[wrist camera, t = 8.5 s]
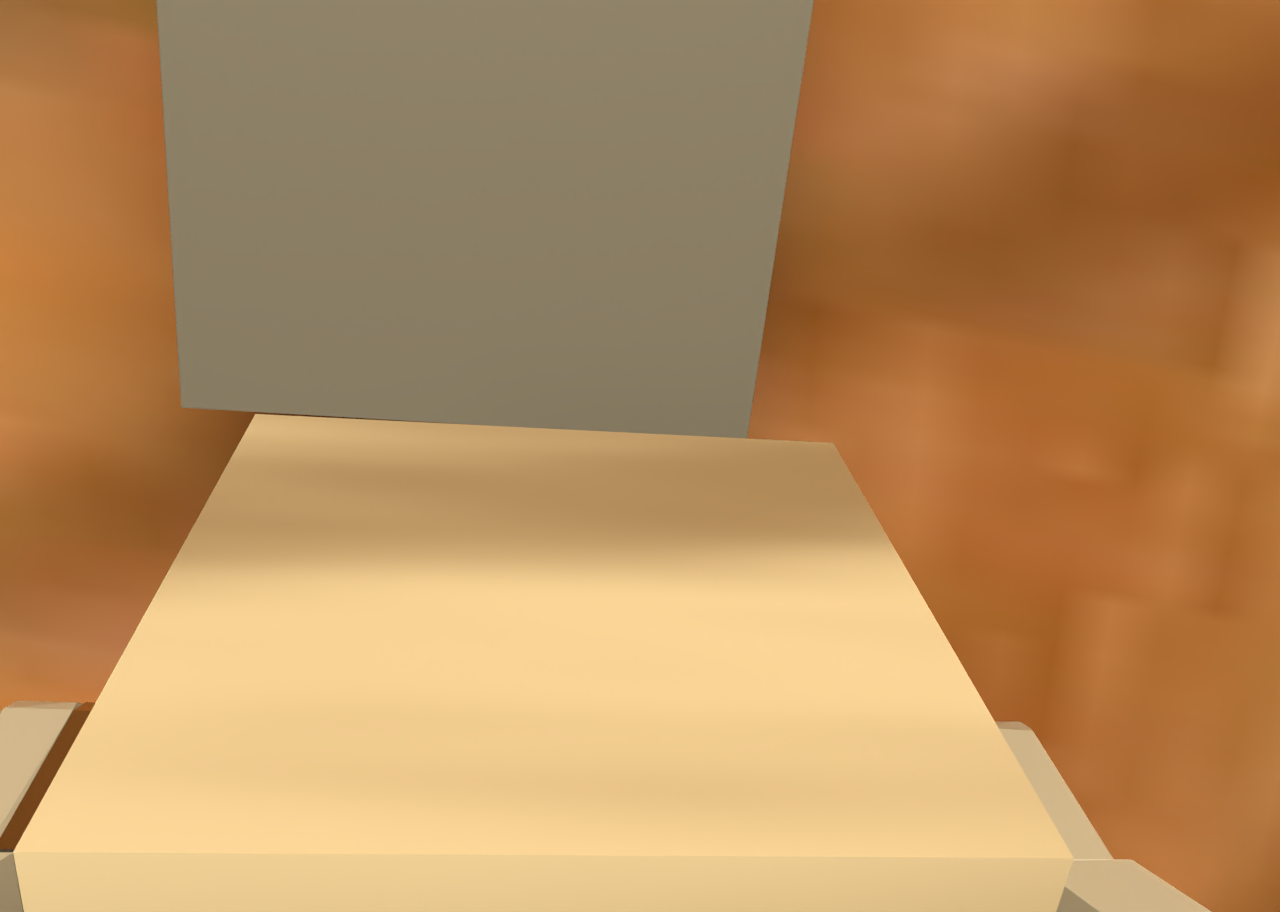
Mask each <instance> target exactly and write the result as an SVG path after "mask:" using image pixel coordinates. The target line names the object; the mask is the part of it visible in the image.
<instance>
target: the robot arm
mask: <svg viewBox="0 0 1280 912" xmlns="http://www.w3.org/2000/svg"><path fill="white" fill-rule="evenodd" d="M94 705H95V703H92V702H86V703H84V704H81V703H77V702H48V701H16V702H14V703H12V704H10V705H9V706H7V707H5V708H4V709H2V710H1V711H0V912H24V910H23V904H22V899H21V893H20V888H19V882H18V877H17V871H16V865H15V860H14V854H13V851H14V850H15V848H16V846H17V844H18V842H19V841H20V839H21V837H22V835H23V833H24V831H25V830H26V828H27V826H28V824H29V822H30V821H31V819H32V817H33V815H34V813H35V812H36V810H37V808H38V806H39V804H40V803H41V801H42V799H43V797H44V795H45V794H46V792H47V790H48V788H49V786H50V784H51V783H52V781H53V779H54V777H55V775H56V774H57V772H58V770H59V768H60V766H61V765H62V763H63V761H64V759H65V757H66V756H67V754H68V752H69V750H70V748H71V747H72V745H73V743H74V741H75V739H76V737H77V736H78V734H79V732H80V730H81V728H82V727H83V725H84V723H85V721H86V719H87V718H88V716H89V714H90V712H91V710H92V709H93V707H94ZM995 723H996V725H997V726H998V728H999V730H1000V732H1001V733H1002V735H1003V737H1004V738H1005V740H1006V742H1007V744H1008V745H1009V747H1010V749H1011V751H1012V752H1013V754H1014V756H1015V757H1016V759H1017V761H1018V763H1019V764H1020V766H1021V768H1022V769H1023V771H1024V773H1025V775H1026V776H1027V778H1028V780H1029V782H1030V783H1031V785H1032V787H1033V788H1034V790H1035V792H1036V794H1037V795H1038V797H1039V799H1040V801H1041V802H1042V804H1043V806H1044V807H1045V809H1046V811H1047V813H1048V814H1049V816H1050V818H1051V820H1052V821H1053V823H1054V825H1055V826H1056V828H1057V830H1058V832H1059V833H1060V835H1061V837H1062V838H1063V840H1064V842H1065V844H1066V845H1067V847H1068V849H1069V851H1070V852H1071V854H1072V856H1073V857H1074V859H1073V862H1072V865H1071V868H1070V871H1069V875H1068V878H1067V881H1066V884H1065V887H1064V890H1063V893H1062V896H1061V899H1060V902H1059V905H1058V908H1057V911H1056V912H1211V911H1210V910H1208V909H1207V908H1205V907H1204V906H1202V905H1200V904H1199V903H1197V902H1196V901H1194V900H1193V899H1191V898H1190V897H1188V896H1187V895H1185V894H1184V893H1182V892H1181V891H1179V890H1178V889H1176V888H1174V887H1173V886H1171V885H1170V884H1168V883H1167V882H1165V881H1164V880H1162V879H1161V878H1159V877H1158V876H1156V875H1155V874H1153V873H1152V872H1150V871H1148V870H1147V869H1145V868H1144V867H1142V866H1141V865H1139V864H1138V863H1136V862H1135V861H1133V860H1124V859H1113V857H1112V855H1111V854H1110V852H1109V851H1108V849H1107V847H1106V846H1105V844H1104V843H1103V841H1102V840H1101V838H1100V836H1099V835H1098V833H1097V832H1096V830H1095V828H1094V827H1093V825H1092V824H1091V822H1090V821H1089V819H1088V817H1087V816H1086V814H1085V813H1084V811H1083V809H1082V808H1081V806H1080V805H1079V803H1078V802H1077V800H1076V798H1075V797H1074V795H1073V794H1072V792H1071V790H1070V789H1069V787H1068V786H1067V784H1066V783H1065V781H1064V779H1063V778H1062V776H1061V775H1060V773H1059V771H1058V770H1057V768H1056V767H1055V765H1054V764H1053V762H1052V760H1051V759H1050V757H1049V756H1048V754H1047V752H1046V751H1045V749H1044V748H1043V746H1042V745H1041V743H1040V741H1039V740H1038V738H1037V737H1036V735H1035V734H1034V732H1033V730H1032V729H1031V728H1029V727H1028V726H1026V725H1025V724H1023V723H1022V722H1020V721H1012V722H995Z"/></svg>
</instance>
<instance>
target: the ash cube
mask: <svg viewBox="0 0 1280 912" xmlns="http://www.w3.org/2000/svg"><path fill="white" fill-rule="evenodd" d="M13 854H14V860H15V865H16V871H17V877H18V882H19V888H20V893H21V899H22V904H23V910H24V912H1056V911H1057V908H1058V905H1059V902H1060V899H1061V896H1062V893H1063V890H1064V887H1065V884H1066V881H1067V878H1068V875H1069V871H1070V868H1071V865H1072V862H1073V859H1074V857H1073V856H1072V854H1071V852H1070V851H1069V849H1068V847H1067V845H1066V844H1065V842H1064V840H1063V838H1062V837H1061V835H1060V833H1059V832H1058V830H1057V828H1056V826H1055V825H1054V823H1053V821H1052V820H1051V818H1050V816H1049V814H1048V813H1047V811H1046V809H1045V807H1044V806H1043V804H1042V802H1041V801H1040V799H1039V797H1038V795H1037V794H1036V792H1035V790H1034V788H1033V787H1032V785H1031V783H1030V782H1029V780H1028V778H1027V776H1026V775H1025V773H1024V771H1023V769H1022V768H1021V766H1020V764H1019V763H1018V761H1017V759H1016V757H1015V756H1014V754H1013V752H1012V751H1011V749H1010V747H1009V745H1008V744H1007V742H1006V740H1005V738H1004V737H1003V735H1002V733H1001V732H1000V730H999V728H998V726H997V725H996V723H995V721H994V719H993V718H992V716H991V714H990V713H989V711H988V709H987V707H986V706H985V704H984V702H983V701H982V699H981V697H980V695H979V694H978V692H977V690H976V688H975V687H974V685H973V683H972V682H971V680H970V678H969V676H968V675H967V673H966V671H965V669H964V668H963V666H962V664H961V663H960V661H959V659H958V657H957V656H956V654H955V652H954V651H953V649H952V647H951V645H950V644H949V642H948V640H947V638H946V637H945V635H944V633H943V632H942V630H941V628H940V626H939V625H938V623H937V621H936V619H935V618H934V616H933V614H932V613H931V611H930V609H929V607H928V606H927V604H926V602H925V600H924V599H923V597H922V595H921V594H920V592H919V590H918V588H917V587H916V585H915V583H914V582H913V580H912V578H911V576H910V575H909V573H908V571H907V569H906V568H905V566H904V564H903V563H902V561H901V559H900V557H899V556H898V554H897V552H896V550H895V549H894V547H893V545H892V544H891V542H890V540H889V538H888V537H887V535H886V533H885V532H884V530H883V528H882V526H881V525H880V523H879V521H878V519H877V518H876V516H875V514H874V513H873V511H872V509H871V507H870V506H869V504H868V502H867V500H866V499H865V497H864V495H863V494H862V492H861V490H860V488H859V487H858V485H857V483H856V482H855V480H854V478H853V476H852V475H851V473H850V471H849V469H848V468H847V466H846V464H845V463H844V461H843V459H842V457H841V456H840V454H839V452H838V450H837V449H836V447H835V445H834V444H833V443H826V442H806V441H786V440H766V439H746V438H726V437H706V436H686V435H666V434H646V433H626V432H606V431H586V430H566V429H546V428H526V427H506V426H486V425H466V424H446V423H426V422H406V421H386V420H366V419H346V418H325V417H305V416H285V415H265V414H255V416H254V418H253V419H252V421H251V423H250V425H249V427H248V428H247V430H246V432H245V434H244V436H243V437H242V439H241V441H240V443H239V445H238V446H237V448H236V450H235V452H234V454H233V455H232V457H231V459H230V461H229V463H228V465H227V466H226V468H225V470H224V472H223V474H222V475H221V477H220V479H219V481H218V483H217V484H216V486H215V488H214V490H213V492H212V493H211V495H210V497H209V499H208V501H207V502H206V504H205V506H204V508H203V510H202V512H201V513H200V515H199V517H198V519H197V521H196V522H195V524H194V526H193V528H192V530H191V531H190V533H189V535H188V537H187V539H186V540H185V542H184V544H183V546H182V548H181V549H180V551H179V553H178V555H177V557H176V559H175V560H174V562H173V564H172V566H171V568H170V569H169V571H168V573H167V575H166V577H165V578H164V580H163V582H162V584H161V586H160V587H159V589H158V591H157V593H156V595H155V596H154V598H153V600H152V602H151V604H150V606H149V607H148V609H147V611H146V613H145V615H144V616H143V618H142V620H141V622H140V624H139V625H138V627H137V629H136V631H135V633H134V634H133V636H132V638H131V640H130V642H129V643H128V645H127V647H126V649H125V651H124V653H123V654H122V656H121V658H120V660H119V662H118V663H117V665H116V667H115V669H114V671H113V672H112V674H111V676H110V678H109V680H108V681H107V683H106V685H105V687H104V689H103V690H102V692H101V694H100V696H99V698H98V700H97V701H96V703H95V705H94V707H93V709H92V710H91V712H90V714H89V716H88V718H87V719H86V721H85V723H84V725H83V727H82V728H81V730H80V732H79V734H78V736H77V737H76V739H75V741H74V743H73V745H72V747H71V748H70V750H69V752H68V754H67V756H66V757H65V759H64V761H63V763H62V765H61V766H60V768H59V770H58V772H57V774H56V775H55V777H54V779H53V781H52V783H51V784H50V786H49V788H48V790H47V792H46V794H45V795H44V797H43V799H42V801H41V803H40V804H39V806H38V808H37V810H36V812H35V813H34V815H33V817H32V819H31V821H30V822H29V824H28V826H27V828H26V830H25V831H24V833H23V835H22V837H21V839H20V841H19V842H18V844H17V846H16V848H15V850H14V851H13Z"/></svg>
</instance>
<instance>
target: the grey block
mask: <svg viewBox="0 0 1280 912" xmlns="http://www.w3.org/2000/svg"><path fill="white" fill-rule="evenodd" d="M813 2H814V0H157V17H158V33H159V50H160V66H161V82H162V99H163V115H164V132H165V148H166V164H167V181H168V197H169V213H170V230H171V246H172V263H173V279H174V295H175V312H176V328H177V345H178V361H179V377H180V394H181V408H197V409H214V410H231V411H248V412H266V413H283V414H300V415H317V416H334V417H351V418H368V419H385V420H402V421H419V422H436V423H453V424H471V425H488V426H506V427H526V428H546V429H566V430H586V431H606V432H626V433H646V434H666V435H686V436H706V437H726V438H746V439H747V435H748V429H749V422H750V416H751V409H752V402H753V396H754V389H755V383H756V376H757V370H758V363H759V356H760V350H761V343H762V337H763V330H764V324H765V317H766V310H767V304H768V297H769V291H770V284H771V278H772V271H773V265H774V258H775V251H776V245H777V238H778V232H779V225H780V219H781V212H782V205H783V199H784V192H785V186H786V179H787V173H788V166H789V159H790V153H791V146H792V140H793V133H794V127H795V120H796V113H797V107H798V100H799V94H800V87H801V81H802V74H803V67H804V61H805V54H806V48H807V41H808V35H809V28H810V22H811V15H812V8H813Z"/></svg>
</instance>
